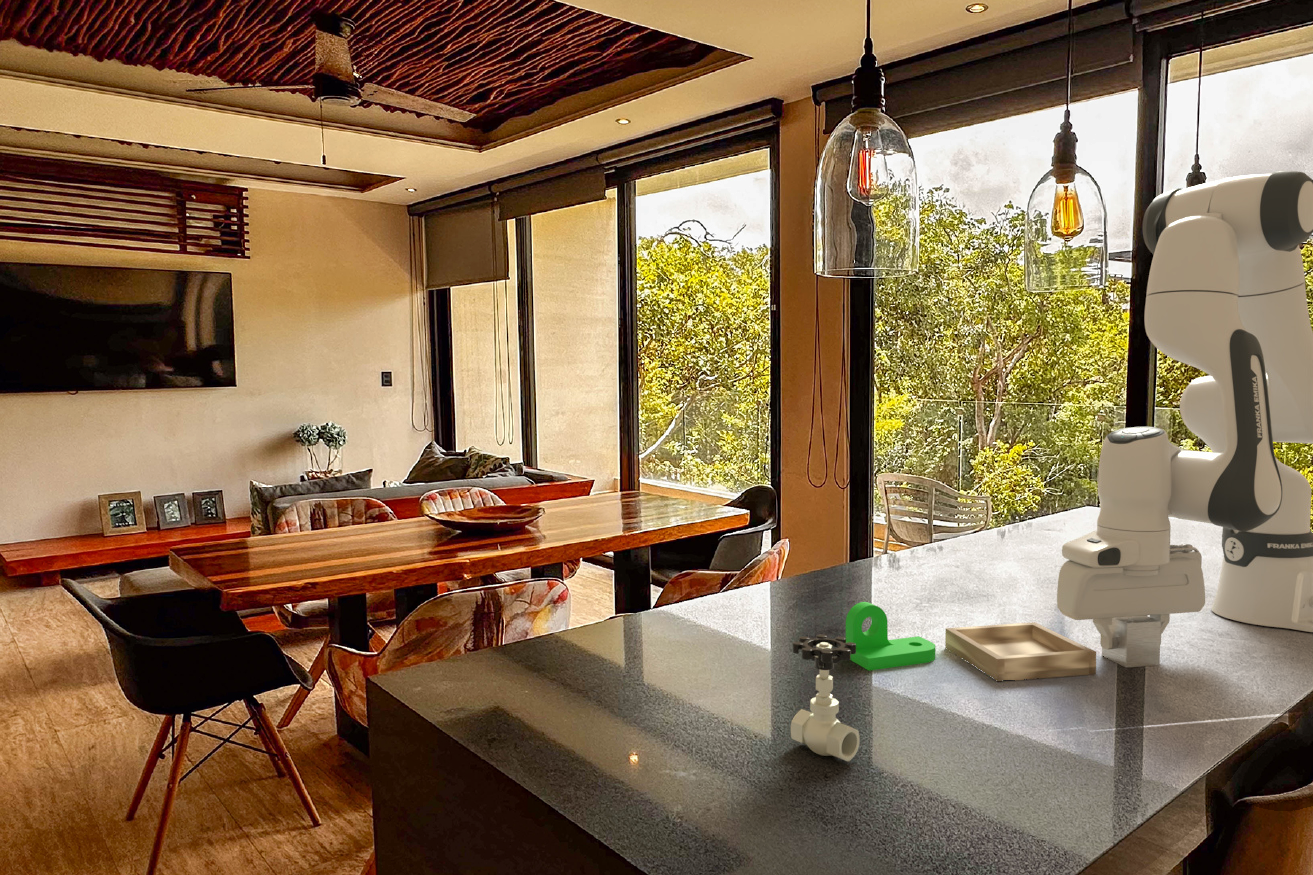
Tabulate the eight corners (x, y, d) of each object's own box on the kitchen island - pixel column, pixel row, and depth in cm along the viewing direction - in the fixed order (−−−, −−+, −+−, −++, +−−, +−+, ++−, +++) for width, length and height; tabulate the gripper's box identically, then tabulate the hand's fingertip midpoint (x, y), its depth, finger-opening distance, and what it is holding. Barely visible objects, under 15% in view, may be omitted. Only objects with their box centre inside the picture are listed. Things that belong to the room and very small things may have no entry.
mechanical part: (868, 672, 120) (868, 614, 119) (845, 659, 125) (845, 603, 125) (944, 662, 124) (944, 605, 123) (918, 649, 129) (918, 595, 129)
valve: (820, 735, 99) (820, 630, 98) (869, 754, 94) (869, 643, 93) (780, 752, 95) (779, 642, 94) (829, 773, 90) (828, 657, 89)
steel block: (1134, 653, 125) (1135, 611, 125) (1159, 664, 120) (1160, 621, 120) (1101, 655, 124) (1102, 613, 124) (1126, 667, 119) (1127, 623, 119)
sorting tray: (1034, 642, 131) (1034, 622, 131) (1095, 673, 117) (1096, 651, 117) (945, 648, 129) (945, 628, 128) (997, 681, 115) (997, 659, 115)
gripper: (1183, 538, 126) (1181, 634, 127) (1051, 546, 123) (1049, 644, 124) (1218, 547, 120) (1215, 648, 121) (1079, 555, 116) (1077, 658, 117)
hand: (1130, 646), depth 122 cm, fingers closed on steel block, 5 cm apart
